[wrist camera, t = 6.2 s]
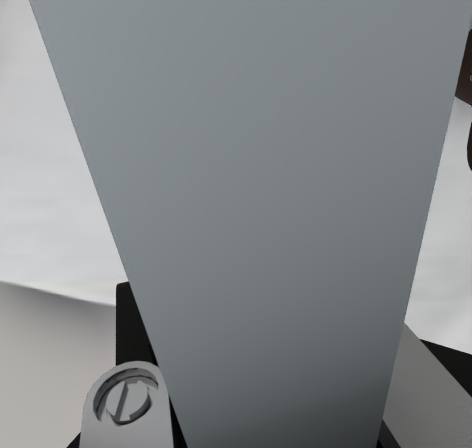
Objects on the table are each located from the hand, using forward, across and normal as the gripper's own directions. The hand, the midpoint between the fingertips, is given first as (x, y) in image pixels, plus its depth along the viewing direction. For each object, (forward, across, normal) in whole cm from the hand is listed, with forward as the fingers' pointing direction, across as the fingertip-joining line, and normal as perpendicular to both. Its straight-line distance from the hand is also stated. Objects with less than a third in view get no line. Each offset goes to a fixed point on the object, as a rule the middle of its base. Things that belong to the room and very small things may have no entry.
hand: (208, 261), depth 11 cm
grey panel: (+5, 0, -1) cm, 5 cm away
